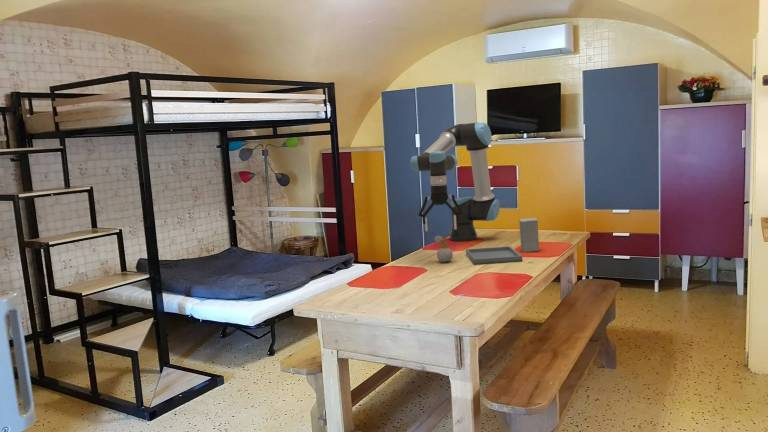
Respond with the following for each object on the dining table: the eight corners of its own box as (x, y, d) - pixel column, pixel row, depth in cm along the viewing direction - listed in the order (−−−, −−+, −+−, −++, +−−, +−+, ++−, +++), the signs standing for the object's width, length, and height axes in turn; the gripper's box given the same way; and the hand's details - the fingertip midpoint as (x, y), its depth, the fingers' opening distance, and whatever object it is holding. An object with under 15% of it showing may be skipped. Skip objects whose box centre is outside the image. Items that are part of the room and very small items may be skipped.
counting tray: (466, 254, 303) (465, 249, 302) (510, 251, 303) (510, 246, 303) (474, 264, 279) (474, 259, 279) (522, 261, 279) (522, 256, 279)
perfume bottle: (448, 264, 284) (446, 238, 282) (430, 262, 289) (428, 237, 288) (455, 260, 290) (454, 235, 288) (438, 259, 295) (436, 234, 294)
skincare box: (537, 248, 304) (536, 217, 302) (539, 251, 297) (538, 219, 295) (520, 249, 305) (518, 218, 303) (521, 252, 298) (520, 220, 296)
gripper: (412, 187, 281) (415, 232, 283) (466, 183, 281) (468, 229, 284) (411, 185, 288) (413, 230, 291) (464, 182, 288) (466, 227, 291)
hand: (441, 230), depth 287 cm, fingers open, 13 cm apart
